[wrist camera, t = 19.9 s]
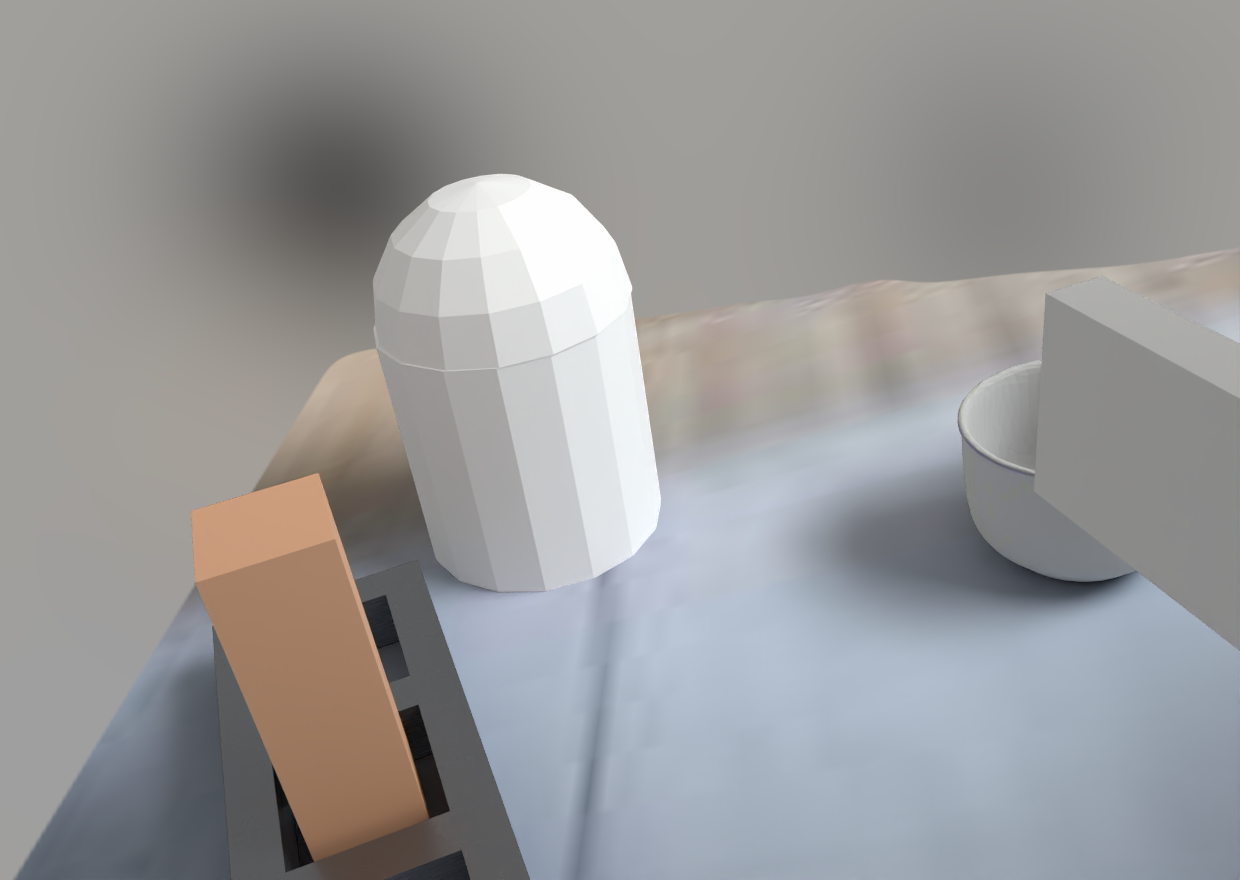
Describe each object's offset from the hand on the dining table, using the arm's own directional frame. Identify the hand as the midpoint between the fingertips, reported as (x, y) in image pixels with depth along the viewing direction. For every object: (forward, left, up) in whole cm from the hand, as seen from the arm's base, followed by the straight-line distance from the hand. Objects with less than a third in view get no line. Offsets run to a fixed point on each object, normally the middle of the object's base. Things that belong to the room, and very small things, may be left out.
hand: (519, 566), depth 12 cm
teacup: (-32, -29, -30) cm, 53 cm away
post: (+5, -26, -30) cm, 40 cm away
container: (-8, -44, -30) cm, 54 cm away
